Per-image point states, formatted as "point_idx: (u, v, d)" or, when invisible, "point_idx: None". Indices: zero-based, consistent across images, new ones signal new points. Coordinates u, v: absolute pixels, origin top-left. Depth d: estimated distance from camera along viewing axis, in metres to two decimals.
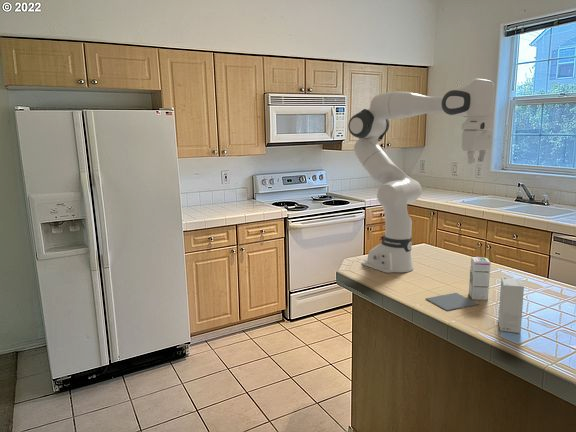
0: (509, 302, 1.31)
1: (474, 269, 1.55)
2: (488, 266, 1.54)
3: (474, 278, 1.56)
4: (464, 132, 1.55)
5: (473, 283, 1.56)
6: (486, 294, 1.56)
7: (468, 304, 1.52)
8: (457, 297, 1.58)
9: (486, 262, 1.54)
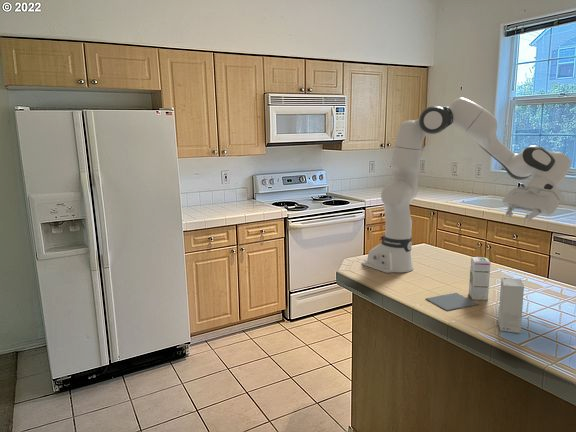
0: (509, 302, 1.31)
1: (474, 269, 1.55)
2: (488, 266, 1.54)
3: (474, 278, 1.56)
4: (555, 195, 1.54)
5: (473, 283, 1.56)
6: (486, 294, 1.56)
7: (468, 304, 1.52)
8: (457, 297, 1.58)
9: (486, 262, 1.54)
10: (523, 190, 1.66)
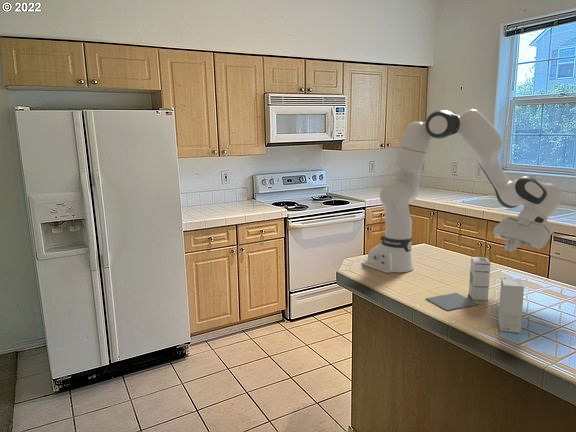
0: (509, 302, 1.31)
1: (474, 269, 1.55)
2: (488, 266, 1.54)
3: (474, 278, 1.56)
4: (545, 229, 1.53)
5: (473, 283, 1.56)
6: (486, 294, 1.56)
7: (468, 304, 1.52)
8: (457, 297, 1.58)
9: (486, 262, 1.54)
10: (514, 221, 1.65)
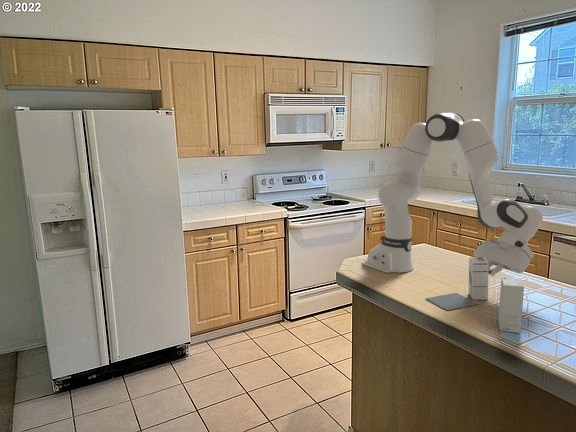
0: (509, 302, 1.31)
1: (472, 269, 1.55)
2: (486, 266, 1.54)
3: (473, 278, 1.55)
4: (525, 254, 1.51)
5: (472, 283, 1.56)
6: (486, 293, 1.56)
7: (468, 304, 1.52)
8: (457, 297, 1.58)
9: (484, 262, 1.54)
10: (494, 244, 1.63)
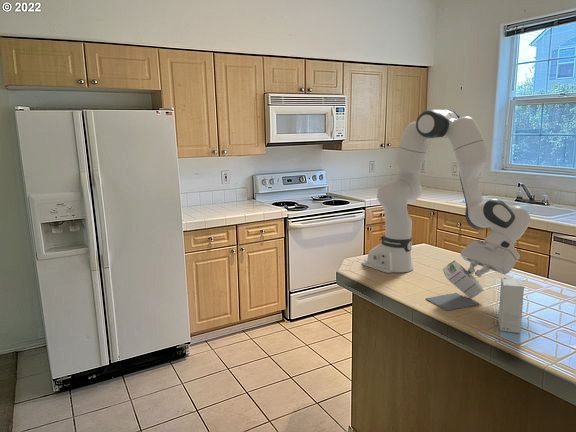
0: (509, 302, 1.31)
1: (452, 282, 1.53)
2: (461, 273, 1.51)
3: (459, 287, 1.54)
4: (511, 254, 1.48)
5: (461, 290, 1.55)
6: (479, 288, 1.55)
7: (468, 304, 1.52)
8: (457, 297, 1.58)
9: (456, 272, 1.51)
10: (481, 244, 1.60)
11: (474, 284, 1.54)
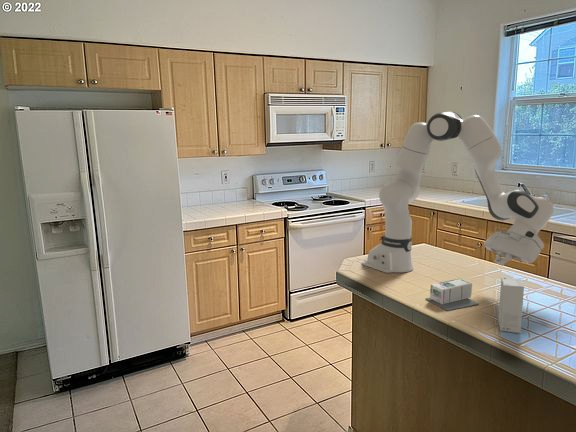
0: (509, 302, 1.31)
1: (447, 302, 1.53)
2: (445, 290, 1.51)
3: (455, 300, 1.54)
4: (535, 244, 1.52)
5: (458, 299, 1.55)
6: (467, 285, 1.56)
7: (468, 304, 1.52)
8: None
9: (442, 293, 1.51)
10: (505, 235, 1.64)
11: (462, 286, 1.55)
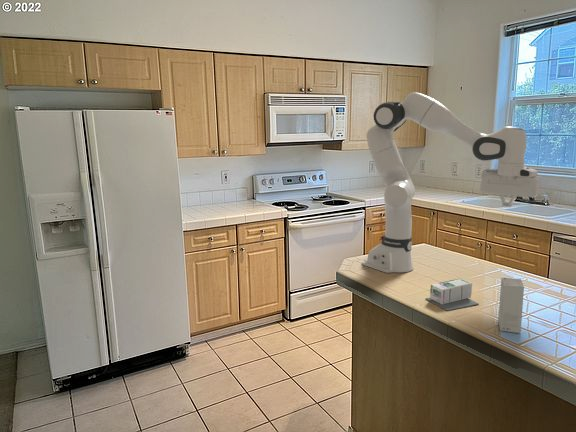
0: (509, 302, 1.31)
1: (447, 302, 1.53)
2: (445, 290, 1.51)
3: (455, 300, 1.54)
4: (535, 179, 1.57)
5: (458, 299, 1.55)
6: (467, 285, 1.56)
7: (468, 304, 1.52)
8: None
9: (442, 293, 1.51)
10: (496, 176, 1.66)
11: (462, 286, 1.55)
